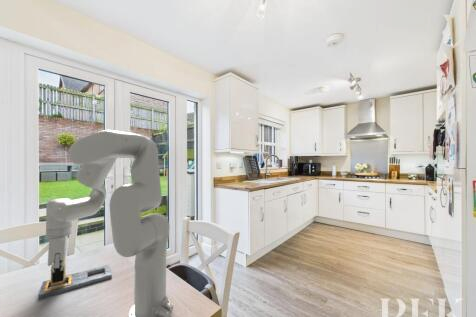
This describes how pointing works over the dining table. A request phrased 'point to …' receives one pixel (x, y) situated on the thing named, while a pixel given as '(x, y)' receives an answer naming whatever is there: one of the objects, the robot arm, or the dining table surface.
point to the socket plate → (75, 281)
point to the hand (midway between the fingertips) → (58, 278)
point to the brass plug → (63, 276)
